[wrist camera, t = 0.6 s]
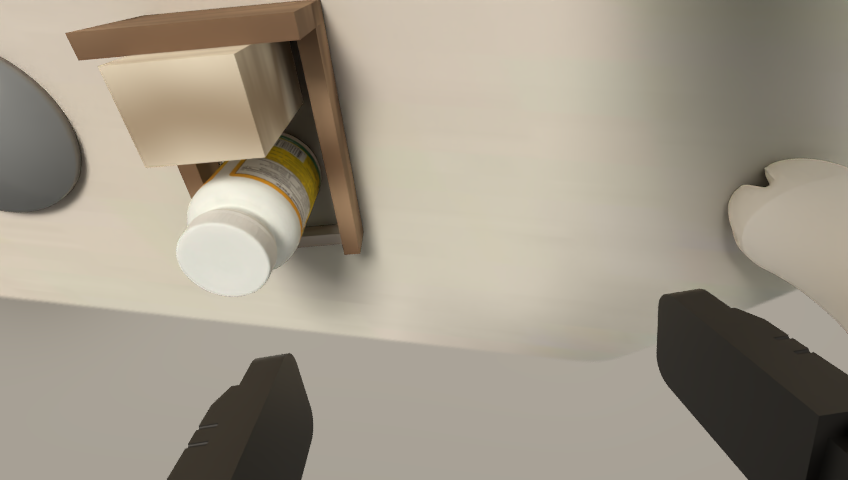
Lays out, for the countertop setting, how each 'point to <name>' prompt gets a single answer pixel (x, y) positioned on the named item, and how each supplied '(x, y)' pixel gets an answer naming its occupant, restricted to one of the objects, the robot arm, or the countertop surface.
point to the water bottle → (799, 229)
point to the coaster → (33, 145)
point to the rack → (227, 93)
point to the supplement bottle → (249, 218)
